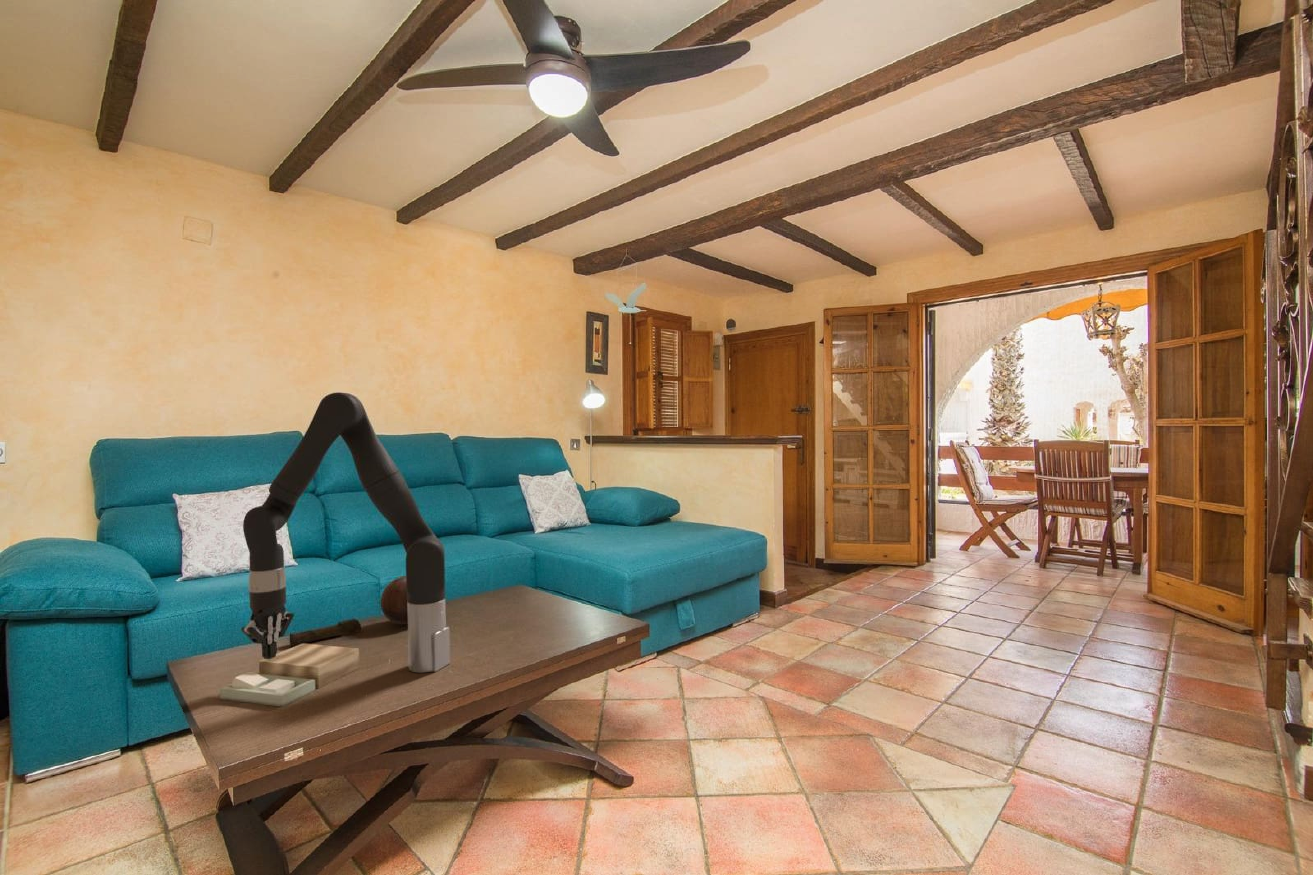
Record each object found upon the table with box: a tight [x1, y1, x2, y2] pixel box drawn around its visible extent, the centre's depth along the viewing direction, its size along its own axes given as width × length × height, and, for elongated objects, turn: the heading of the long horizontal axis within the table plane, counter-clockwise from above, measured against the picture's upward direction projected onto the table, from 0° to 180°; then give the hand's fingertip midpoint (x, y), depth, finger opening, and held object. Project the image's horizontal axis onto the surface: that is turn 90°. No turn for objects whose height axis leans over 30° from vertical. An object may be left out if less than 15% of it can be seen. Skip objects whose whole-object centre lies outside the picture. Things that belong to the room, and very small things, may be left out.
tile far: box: [231, 671, 268, 690], centre depth 142 cm, size 5×5×2 cm
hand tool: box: [289, 618, 362, 648], centre depth 180 cm, size 19×4×5 cm, turn 129°
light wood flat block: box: [258, 643, 360, 689], centre depth 153 cm, size 18×13×5 cm
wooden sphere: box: [380, 575, 408, 625], centre depth 194 cm, size 15×15×15 cm
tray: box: [219, 672, 316, 708], centre depth 141 cm, size 18×9×2 cm, turn 74°
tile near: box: [259, 679, 295, 693], centre depth 141 cm, size 5×5×2 cm
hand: (269, 658), depth 147 cm, fingers closed
